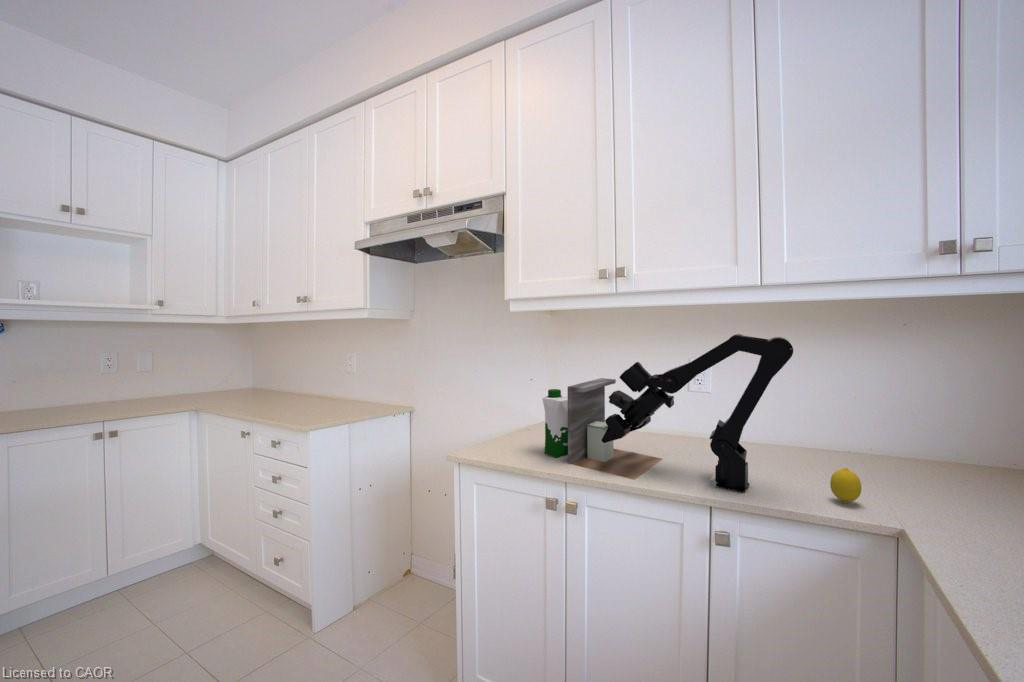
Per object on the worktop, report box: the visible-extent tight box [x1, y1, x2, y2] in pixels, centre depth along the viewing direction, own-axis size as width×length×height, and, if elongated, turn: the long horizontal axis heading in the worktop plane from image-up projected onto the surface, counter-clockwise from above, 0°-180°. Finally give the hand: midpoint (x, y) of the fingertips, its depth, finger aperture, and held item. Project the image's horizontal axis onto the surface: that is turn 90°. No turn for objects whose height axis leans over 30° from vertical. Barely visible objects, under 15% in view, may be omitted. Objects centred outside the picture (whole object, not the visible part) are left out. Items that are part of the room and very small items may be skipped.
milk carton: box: [542, 388, 568, 459], centre depth 132 cm, size 9×9×20 cm
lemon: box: [829, 467, 862, 504], centre depth 95 cm, size 6×6×8 cm
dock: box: [567, 377, 663, 480], centre depth 122 cm, size 20×20×23 cm
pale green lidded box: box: [587, 421, 615, 462], centre depth 126 cm, size 6×6×10 cm
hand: (610, 437), depth 124 cm, fingers open, 9 cm apart
